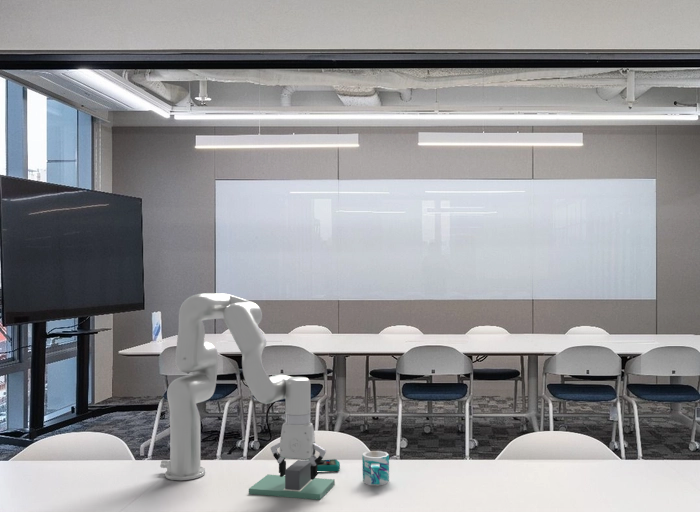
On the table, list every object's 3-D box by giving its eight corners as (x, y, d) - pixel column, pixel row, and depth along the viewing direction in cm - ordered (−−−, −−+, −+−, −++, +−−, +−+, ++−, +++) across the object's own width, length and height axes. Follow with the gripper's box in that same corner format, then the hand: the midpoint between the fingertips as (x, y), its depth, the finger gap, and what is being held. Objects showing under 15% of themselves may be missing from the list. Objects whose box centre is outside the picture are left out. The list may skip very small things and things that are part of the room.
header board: (248, 493, 181) (248, 476, 181) (267, 479, 194) (267, 463, 194) (320, 499, 175) (319, 481, 175) (334, 484, 188) (334, 467, 189)
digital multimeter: (340, 473, 201) (340, 464, 201) (294, 474, 200) (294, 465, 200) (339, 466, 208) (339, 458, 208) (295, 468, 207) (295, 459, 207)
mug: (389, 477, 195) (388, 450, 195) (389, 489, 183) (389, 461, 183) (363, 477, 195) (362, 450, 196) (361, 489, 183) (361, 461, 184)
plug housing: (285, 489, 180) (285, 470, 180) (301, 475, 193) (301, 457, 193) (299, 490, 178) (299, 471, 179) (314, 476, 191) (314, 458, 192)
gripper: (266, 420, 184) (266, 478, 183) (321, 423, 179) (321, 483, 178) (276, 415, 191) (276, 471, 190) (329, 418, 186) (329, 475, 186)
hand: (298, 476), depth 184 cm, fingers open, 9 cm apart
